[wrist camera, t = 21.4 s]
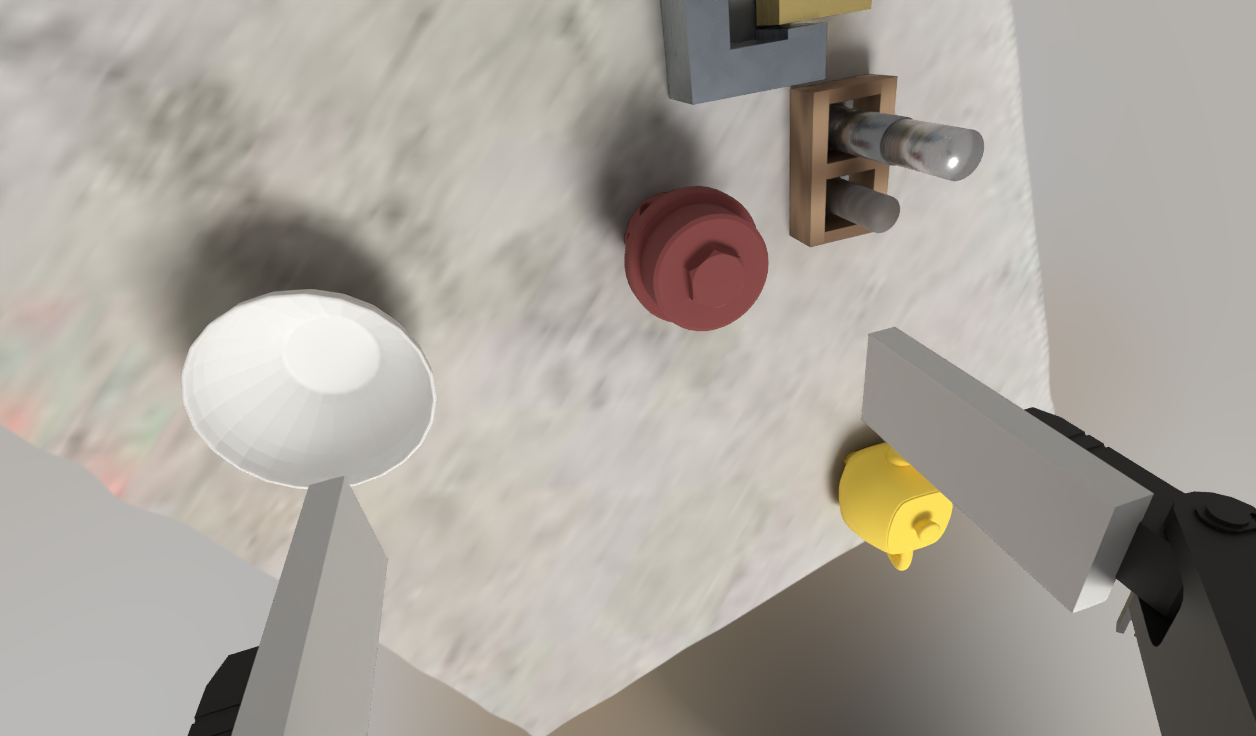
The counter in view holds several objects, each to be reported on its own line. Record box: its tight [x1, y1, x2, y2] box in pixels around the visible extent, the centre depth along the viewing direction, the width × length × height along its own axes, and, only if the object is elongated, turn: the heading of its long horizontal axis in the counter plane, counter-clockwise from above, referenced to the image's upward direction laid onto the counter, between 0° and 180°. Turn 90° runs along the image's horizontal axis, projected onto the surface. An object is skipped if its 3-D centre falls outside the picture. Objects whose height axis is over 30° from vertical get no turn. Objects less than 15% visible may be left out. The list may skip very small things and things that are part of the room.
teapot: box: [839, 442, 953, 570], centre depth 66 cm, size 18×11×11 cm, turn 4°
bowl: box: [181, 289, 436, 489], centre depth 44 cm, size 16×16×7 cm
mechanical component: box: [624, 186, 768, 331], centre depth 44 cm, size 12×10×10 cm
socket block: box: [660, 0, 827, 105], centre depth 40 cm, size 10×10×5 cm
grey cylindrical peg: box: [828, 105, 984, 181], centre depth 42 cm, size 3×3×15 cm
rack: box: [790, 74, 900, 247], centre depth 47 cm, size 12×7×8 cm, turn 8°
